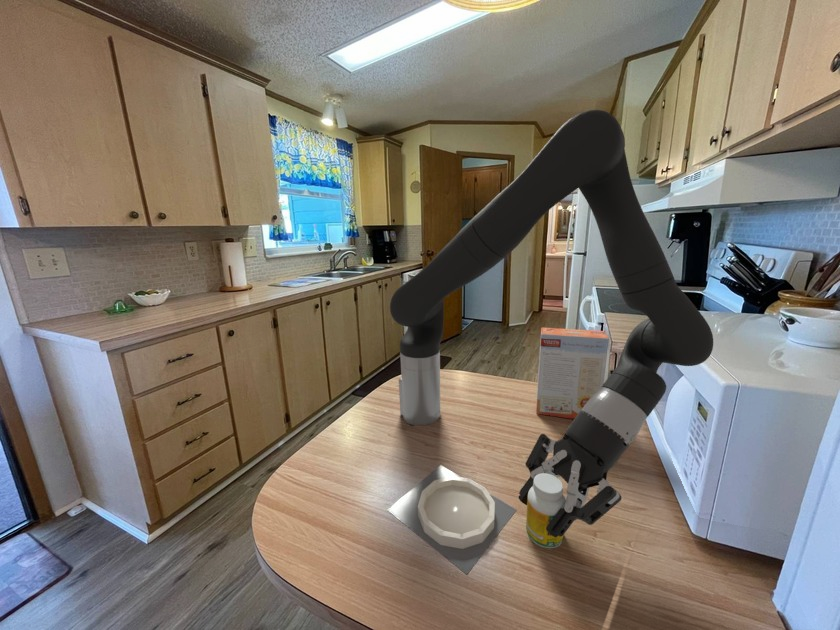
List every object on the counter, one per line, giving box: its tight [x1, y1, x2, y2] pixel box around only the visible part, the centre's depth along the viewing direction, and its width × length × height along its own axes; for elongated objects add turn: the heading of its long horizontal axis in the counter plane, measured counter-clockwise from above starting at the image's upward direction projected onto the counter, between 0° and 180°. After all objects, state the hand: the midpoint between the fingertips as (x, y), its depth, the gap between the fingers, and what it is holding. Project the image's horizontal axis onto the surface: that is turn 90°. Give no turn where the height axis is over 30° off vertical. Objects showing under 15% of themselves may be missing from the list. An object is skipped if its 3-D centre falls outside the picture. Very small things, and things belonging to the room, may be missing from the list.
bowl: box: [418, 476, 495, 549], centre depth 55 cm, size 12×12×2 cm
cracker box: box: [535, 326, 610, 420], centre depth 81 cm, size 14×6×21 cm, turn 71°
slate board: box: [386, 464, 517, 575], centre depth 56 cm, size 16×14×1 cm
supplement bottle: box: [525, 473, 566, 549], centre depth 50 cm, size 5×5×10 cm
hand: (536, 516), depth 50 cm, fingers closed on supplement bottle, 5 cm apart
